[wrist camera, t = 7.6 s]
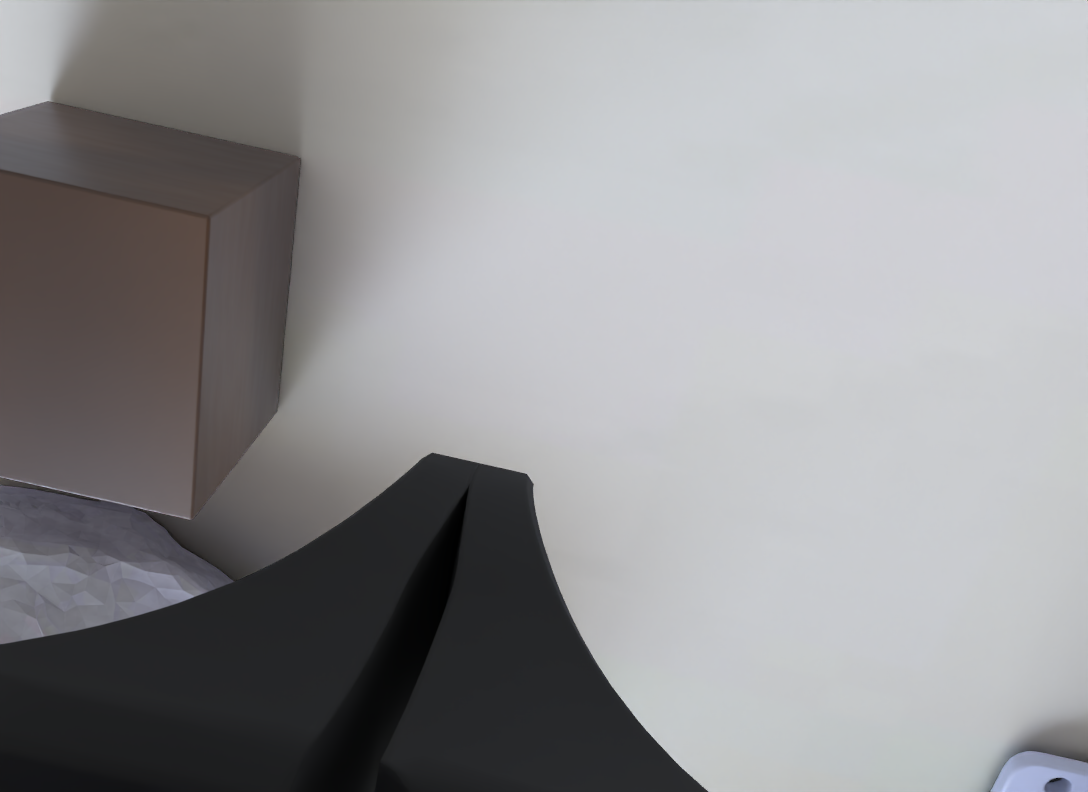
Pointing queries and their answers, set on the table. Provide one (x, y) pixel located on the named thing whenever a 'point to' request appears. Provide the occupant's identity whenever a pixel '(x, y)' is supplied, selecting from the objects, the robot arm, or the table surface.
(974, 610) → the table surface
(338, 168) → the table surface
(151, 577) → the stone block
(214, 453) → the walnut block
